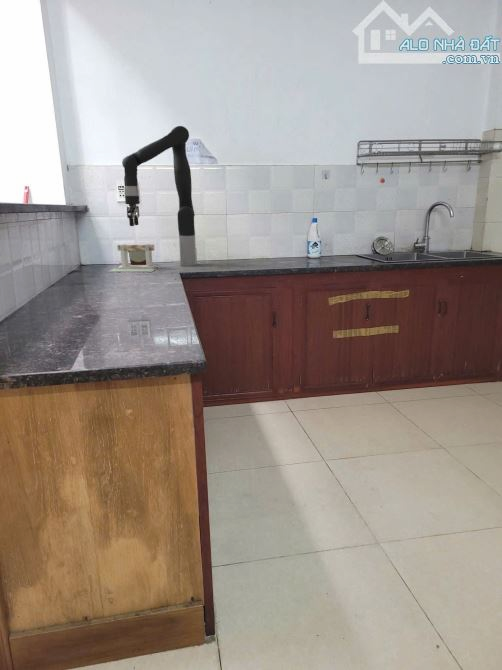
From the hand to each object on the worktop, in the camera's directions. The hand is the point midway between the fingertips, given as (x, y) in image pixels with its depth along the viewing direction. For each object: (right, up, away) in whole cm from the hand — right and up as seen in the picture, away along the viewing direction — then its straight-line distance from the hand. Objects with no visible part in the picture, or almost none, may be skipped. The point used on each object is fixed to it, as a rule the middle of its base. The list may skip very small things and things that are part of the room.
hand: (134, 225), depth 262 cm
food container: (-1, -19, +18) cm, 27 cm away
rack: (0, -23, +7) cm, 24 cm away
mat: (0, -25, -3) cm, 26 cm away
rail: (0, -13, +4) cm, 14 cm away
